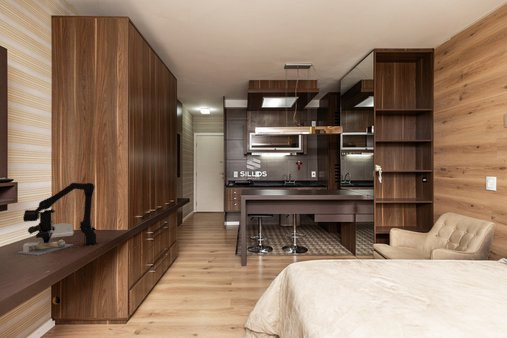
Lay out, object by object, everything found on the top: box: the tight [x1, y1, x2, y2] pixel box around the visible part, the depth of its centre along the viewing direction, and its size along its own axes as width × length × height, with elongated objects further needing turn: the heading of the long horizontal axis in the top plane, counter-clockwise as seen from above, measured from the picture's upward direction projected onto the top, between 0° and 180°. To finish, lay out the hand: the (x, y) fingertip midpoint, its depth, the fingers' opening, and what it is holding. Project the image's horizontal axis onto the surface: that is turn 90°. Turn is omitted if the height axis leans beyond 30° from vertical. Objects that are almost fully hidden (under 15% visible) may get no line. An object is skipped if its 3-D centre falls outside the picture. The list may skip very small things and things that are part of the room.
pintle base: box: [16, 239, 75, 257], centre depth 164 cm, size 18×21×5 cm
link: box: [33, 240, 66, 250], centre depth 165 cm, size 15×4×3 cm, turn 113°
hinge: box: [50, 222, 75, 239], centre depth 198 cm, size 17×5×10 cm, turn 120°
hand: (46, 245), depth 166 cm, fingers closed
